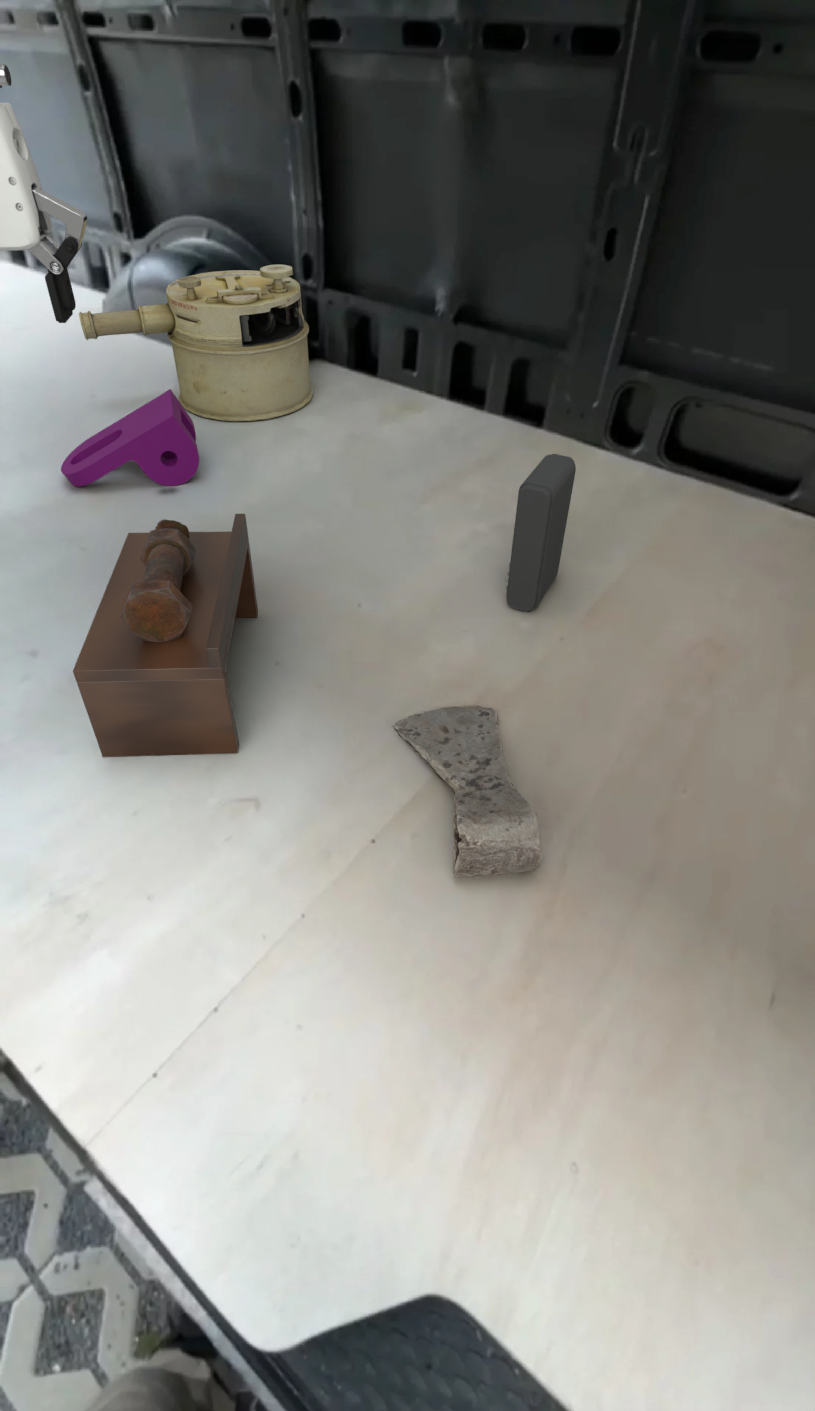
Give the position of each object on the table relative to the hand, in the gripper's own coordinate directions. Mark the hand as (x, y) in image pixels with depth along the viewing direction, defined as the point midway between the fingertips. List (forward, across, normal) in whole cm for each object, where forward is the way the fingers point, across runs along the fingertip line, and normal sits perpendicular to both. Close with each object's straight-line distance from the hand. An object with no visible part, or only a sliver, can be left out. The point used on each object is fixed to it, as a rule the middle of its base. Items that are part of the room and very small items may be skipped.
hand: (11, 318), depth 73 cm
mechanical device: (+28, -7, -54) cm, 61 cm away
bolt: (+18, -14, +18) cm, 29 cm away
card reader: (+28, -51, +4) cm, 59 cm away
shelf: (+28, -14, +18) cm, 36 cm away
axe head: (+28, -40, +34) cm, 60 cm away
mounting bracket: (+28, 0, -27) cm, 39 cm away
